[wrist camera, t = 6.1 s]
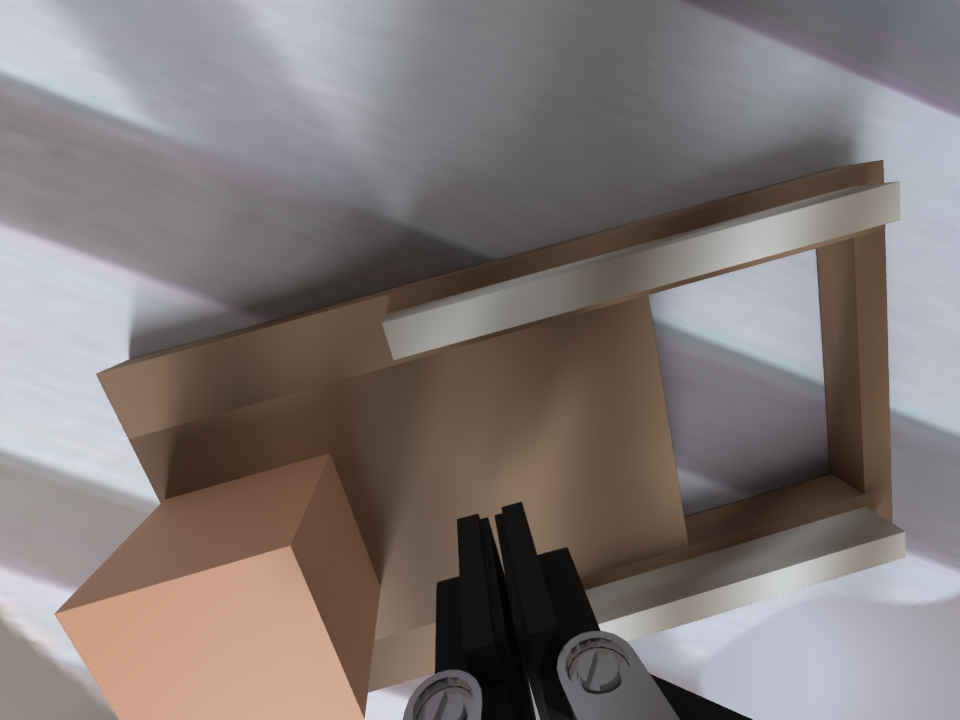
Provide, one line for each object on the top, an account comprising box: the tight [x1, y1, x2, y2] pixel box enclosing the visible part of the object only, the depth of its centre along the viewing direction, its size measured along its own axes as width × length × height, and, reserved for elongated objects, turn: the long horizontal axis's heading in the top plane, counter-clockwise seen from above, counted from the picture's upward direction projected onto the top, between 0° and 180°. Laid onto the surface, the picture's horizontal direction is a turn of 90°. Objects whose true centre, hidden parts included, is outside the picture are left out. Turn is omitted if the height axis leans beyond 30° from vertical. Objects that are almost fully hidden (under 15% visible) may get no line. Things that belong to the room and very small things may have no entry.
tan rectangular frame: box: [96, 160, 906, 692], centre depth 16 cm, size 23×13×3 cm, turn 105°
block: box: [55, 453, 381, 720], centre depth 13 cm, size 5×5×4 cm
